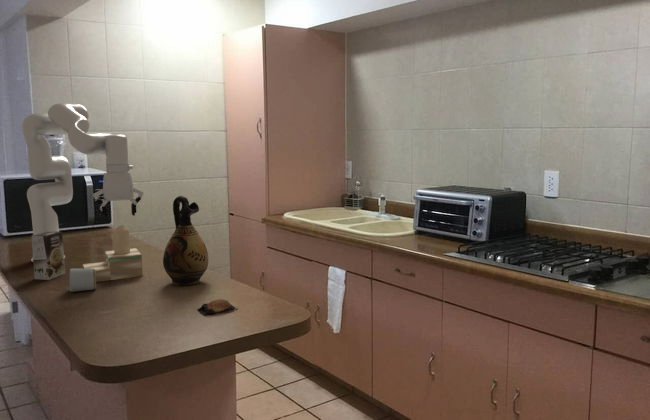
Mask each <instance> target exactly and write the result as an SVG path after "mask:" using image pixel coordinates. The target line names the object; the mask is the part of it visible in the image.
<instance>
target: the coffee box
mask: <svg viewBox="0 0 650 420" xmlns="http://www.w3.org/2000/svg"><path fill="white" fill-rule="evenodd" d="M31 250H32V258H33V262H32V263H33V273H34V280H42V281H44V280H45V281H50V280H52V279H53V280H54V279H56V278H57V277H61V276H63V275H65V274H66V267H65V265H66V264H65V263H66V262H65V258H64V255H65V253H64V241H63V231H59V232H44V233H40V234H36V235H33V234H32V235H31Z"/></svg>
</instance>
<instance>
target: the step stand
mask: <svg viewBox="0 0 650 420" xmlns="http://www.w3.org/2000/svg"><path fill="white" fill-rule="evenodd" d="M104 256H105V261H100V262H90V263H89V262H88V263H82V269H84V268H91V269H95V270H96V283H97V282H105V281H113V280H123V279H129V278H138V277H143V275H144V274H143V271H144V270H143V257H142V253H141V252H140V251H139V249H137V248H136V247H133V248H131V247H130V253H127V254H115V253H114V249H112V250H105V251H104Z"/></svg>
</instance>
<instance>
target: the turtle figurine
mask: <svg viewBox="0 0 650 420" xmlns="http://www.w3.org/2000/svg"><path fill="white" fill-rule="evenodd" d="M196 310H197V312H198V313H199V314H201V315H202V316H205V317H211V316H216V315H222V314H226V313H230V312H234V311H237V310H239V308H238V307H236V306H234V305H233V304H231V302H230V301H229V300H227V299H225V298H222V299H221V298H219V299H214V300H211V301H209V302H208V303H202V305H201V307H199V308H197V309H196Z"/></svg>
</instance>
